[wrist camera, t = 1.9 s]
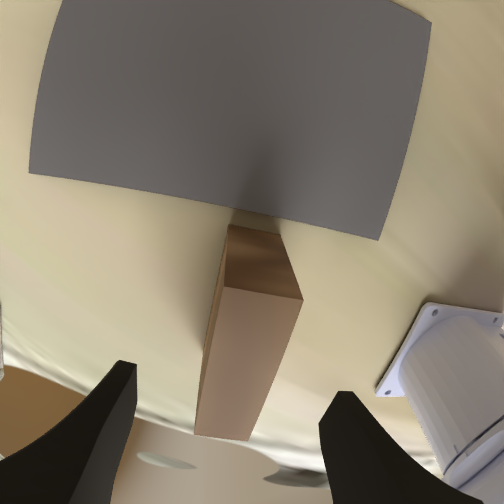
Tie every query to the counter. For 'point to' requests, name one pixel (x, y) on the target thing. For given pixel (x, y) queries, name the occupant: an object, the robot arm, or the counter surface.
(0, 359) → the coffee box
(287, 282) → the slab
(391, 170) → the mat
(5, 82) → the counter surface
